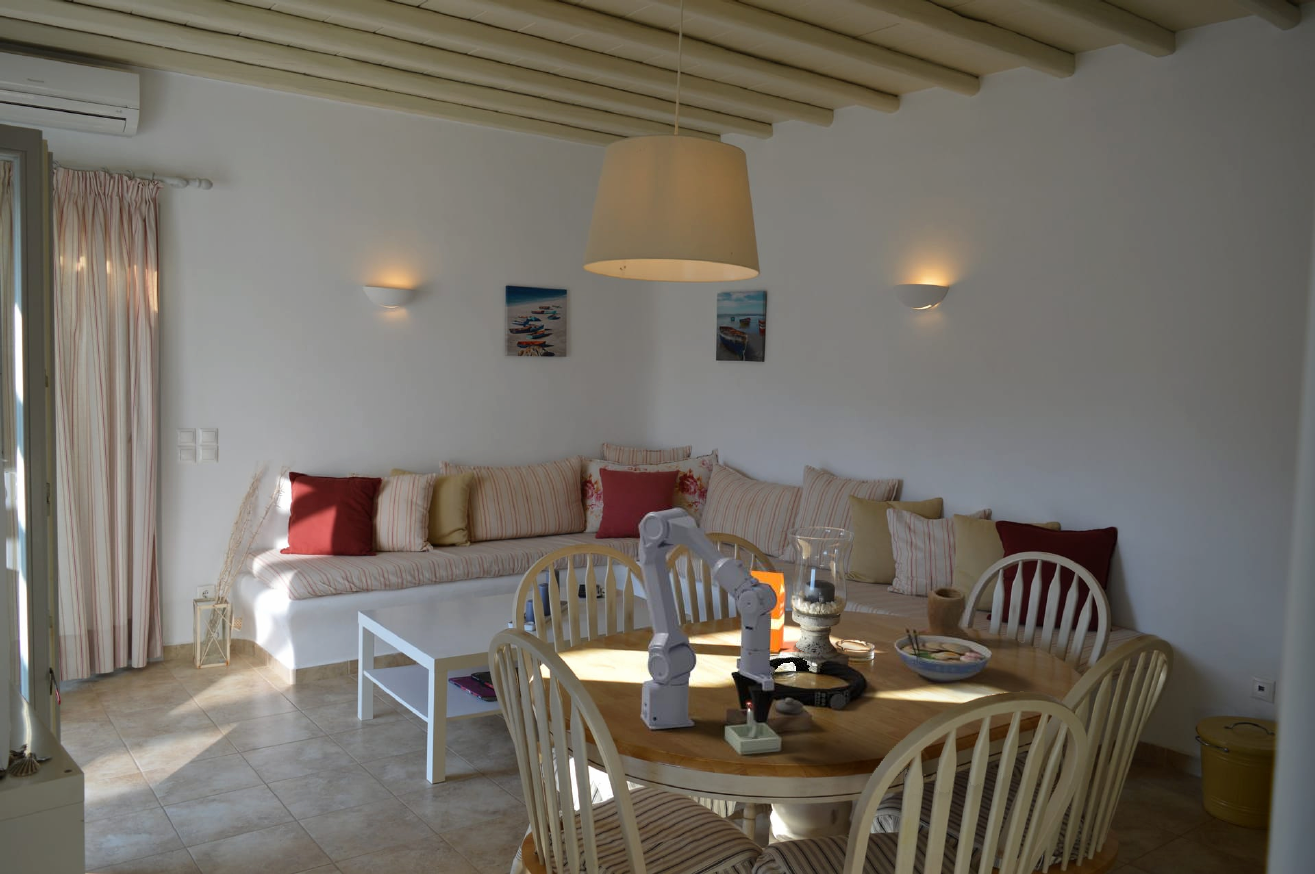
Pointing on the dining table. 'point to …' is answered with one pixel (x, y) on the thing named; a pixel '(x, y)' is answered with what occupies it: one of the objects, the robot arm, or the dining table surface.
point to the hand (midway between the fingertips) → (753, 715)
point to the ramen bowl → (942, 656)
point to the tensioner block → (777, 716)
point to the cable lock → (822, 697)
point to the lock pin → (751, 722)
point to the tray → (764, 744)
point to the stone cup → (945, 613)
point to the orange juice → (778, 611)
